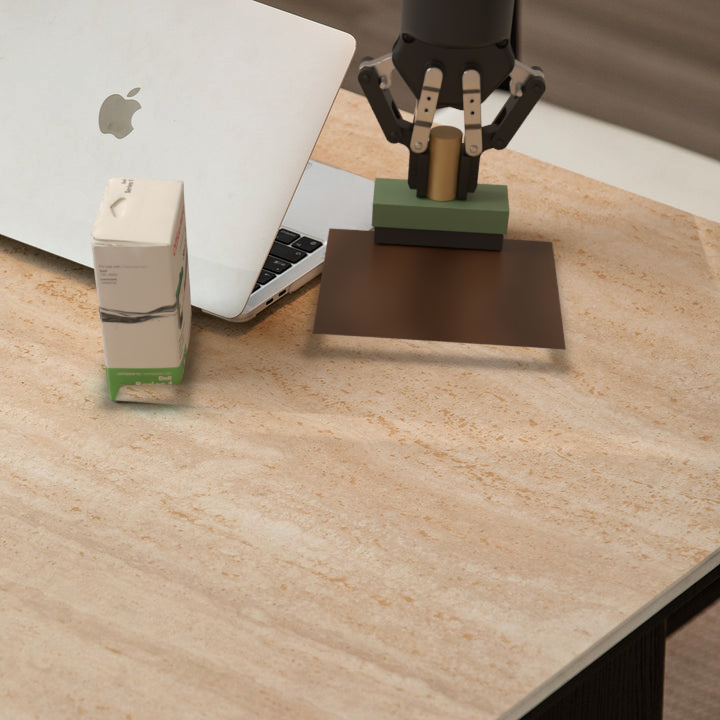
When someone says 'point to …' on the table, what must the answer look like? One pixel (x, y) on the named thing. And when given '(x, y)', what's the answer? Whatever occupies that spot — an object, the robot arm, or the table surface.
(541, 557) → the table surface
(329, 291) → the board
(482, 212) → the brush
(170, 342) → the ink box
